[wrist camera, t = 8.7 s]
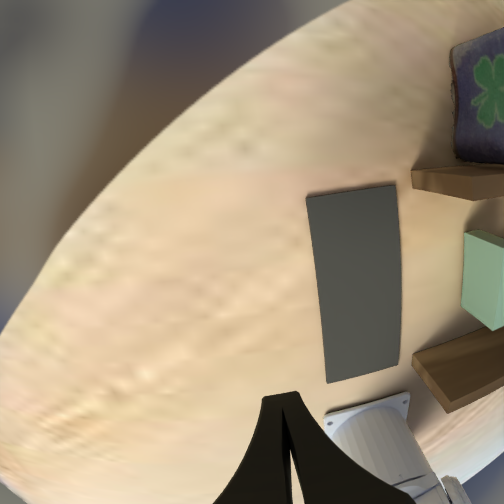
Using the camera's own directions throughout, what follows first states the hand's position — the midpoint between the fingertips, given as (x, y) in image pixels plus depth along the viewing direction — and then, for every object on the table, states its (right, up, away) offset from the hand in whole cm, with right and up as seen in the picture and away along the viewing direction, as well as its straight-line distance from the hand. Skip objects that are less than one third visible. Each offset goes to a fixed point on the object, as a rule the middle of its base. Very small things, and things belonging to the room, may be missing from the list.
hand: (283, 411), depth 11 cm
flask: (+14, +17, +6) cm, 23 cm away
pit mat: (+6, +3, +10) cm, 12 cm away
